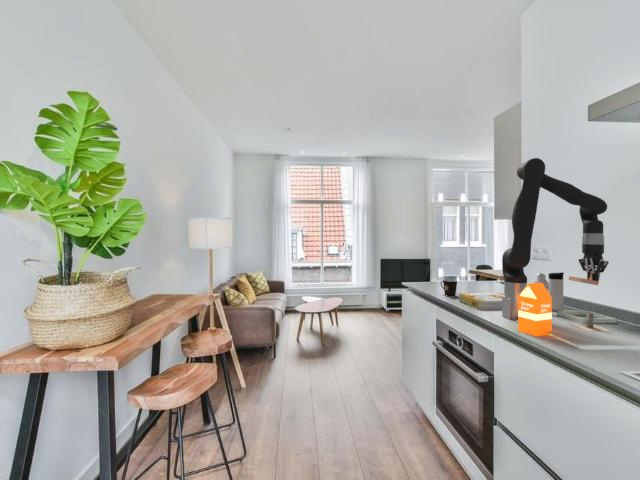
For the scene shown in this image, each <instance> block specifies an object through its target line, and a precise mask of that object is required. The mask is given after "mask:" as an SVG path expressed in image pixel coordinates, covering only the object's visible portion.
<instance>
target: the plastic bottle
mask: <svg viewBox="0 0 640 480" xmlns="http://www.w3.org/2000/svg"><path fill="white" fill-rule="evenodd" d="M546 276H547V275H546V273H536V279H535V281H534V282H533V283H543V285H544V286H545V288H546V290H547V291H548V289H549V283H548V280H547V277H546Z"/></svg>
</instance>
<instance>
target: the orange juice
mask: <svg viewBox="0 0 640 480" xmlns="http://www.w3.org/2000/svg"><path fill="white" fill-rule="evenodd" d="M552 314H553V311H552V297H551V296H550V294H549V293H548V291H547V290H546V288H545V286H544V285H543V283H534V282H533V283H527V286H526V287H525V288H524V290H523V291H522V292H521V294H520V295H519V296H518V318H517V319H518V320H517V321H518V324H517V325H518V326H517V327H518V332H522V333H524V334H528V335H531V336H535V337H541V336H547V335H551V334H552V333H551V331H552V328H553V327H552V322H553V321H552V320H553V315H552Z"/></svg>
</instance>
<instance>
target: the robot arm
mask: <svg viewBox="0 0 640 480" xmlns="http://www.w3.org/2000/svg"><path fill="white" fill-rule="evenodd" d="M545 172H546V164H545V162H544V161H543V159H541V158H538V157H534V158H530V159H528V160H526V161H524V162H523V163H521V164H519V166H517V168H516V175H517V177H518V178H519V179H520V180H522V186H521V190H520V192H519V194H518V196H517V198H516V201H515V203H514V206H513V209H512V215H511V226H512V230H513V242H512V247H511V248H508V249H506V250H505V251H504V252H503V254H502V258H501V259H502V262H501V264H502V267H501V268H502V275H503V279H504V283H503V284H504V285H503V287H504V288H503V289H504V290H503V291H504V297H502V309H501V310H502V313H501V316H502V317H504V318H507V319H509V320H515V321H516V320H517V321H518V296H519V295H520V294H521V292H522V291H523V290H524V288H525V287H526V286H527V284H528V277H527V275H526V274H525V270H524V268H525V267H527V266H528V265H529V264H530V261H531V257H532V256H531V252H532V239H533V238H532V237H533V233H534V226H535V221H536V217H537V210H538V202H539V198H540V191H541V189H543V190H545V191H547V192H550V193H551V194H553V195H555V196H556V197H558V198H560V199H561V200H563V201H565V202H567V203H568V204H570V205H572V206H573V205H574V206H579V211H578V212H579V216H580V220H581V222H582V237H581V252H582V254H583V256H582V258H578V263H579V265H580V267H581V269H582V271H584V272H586V279H589V277H590V271H592V280H594V281H597V282H598V280H599V281H600V278H599V273H600V274H601V273H604V272H605V270H606V268H607V267H608V265H609V263H610V262H609V261H608V260H605V259H604V257H603V254H604V253H605V236H604V221H602V220H599V218H598V215H599V216H600V215H602V214H605V212H606V211H607V210H608V204H607V203H606V201H605V200H603V199H602V198H600V197H598V196H596V195H593V194H591V193H588V192H585V191H583V190H581V189H579V188H578V187H576V186H575V185H573V184H571V183H569V182H567V181H566V182H565V181H563V180H560V179H557V178H555V177H552V176H550V175H548V174H546V173H545Z"/></svg>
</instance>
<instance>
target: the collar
mask: <svg viewBox="0 0 640 480" xmlns="http://www.w3.org/2000/svg"><path fill="white" fill-rule="evenodd" d="M600 278H601V273H599V280H598V282H597V281H594V280H592V271H590V277H589V279H587V278H582V277H576V276H572V275H569V276H568V281H572V282H578V283H583V284H588V285H593V286H599V282H600Z"/></svg>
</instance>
